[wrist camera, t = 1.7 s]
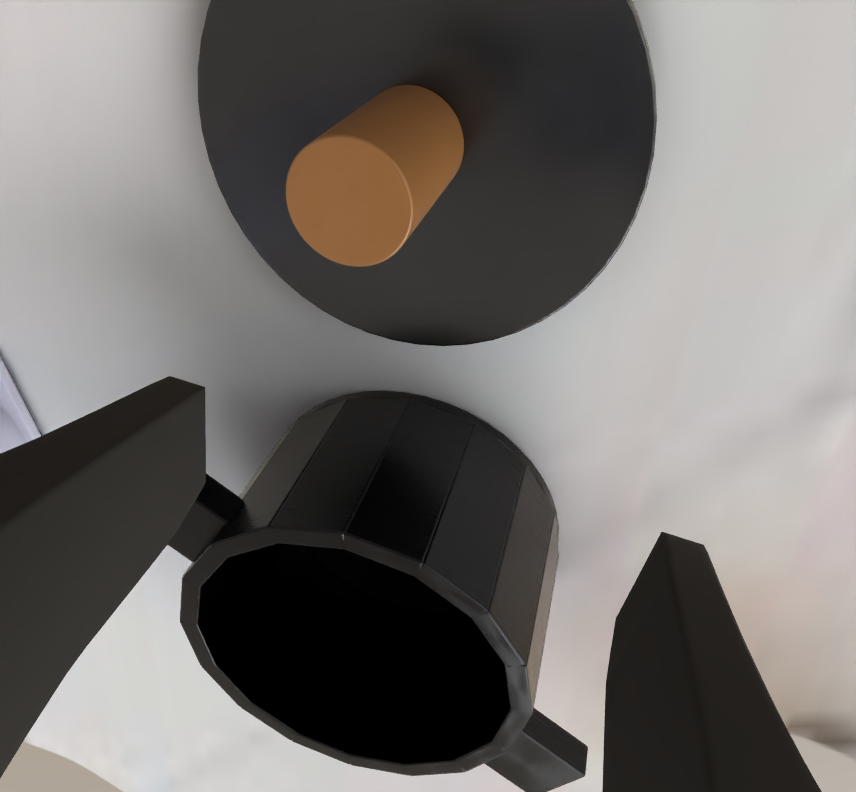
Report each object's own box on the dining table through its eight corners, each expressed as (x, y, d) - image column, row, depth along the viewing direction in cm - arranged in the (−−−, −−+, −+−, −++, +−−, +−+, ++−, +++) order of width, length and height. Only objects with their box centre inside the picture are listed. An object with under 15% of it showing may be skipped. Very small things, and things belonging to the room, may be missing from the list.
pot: (489, 688, 31) (453, 849, 25) (168, 459, 28) (56, 587, 23) (686, 577, 24) (690, 759, 19) (299, 272, 22) (186, 389, 17)
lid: (461, 395, 23) (411, 515, 18) (155, 153, 21) (19, 224, 17) (768, 99, 16) (803, 177, 12) (363, -288, 14) (230, -364, 10)
